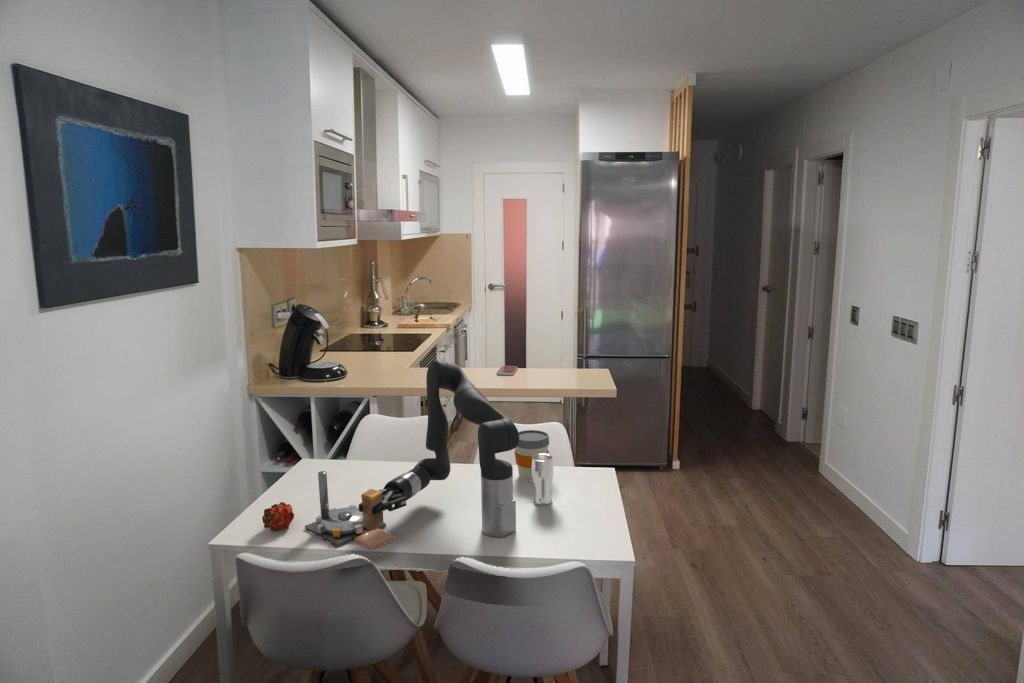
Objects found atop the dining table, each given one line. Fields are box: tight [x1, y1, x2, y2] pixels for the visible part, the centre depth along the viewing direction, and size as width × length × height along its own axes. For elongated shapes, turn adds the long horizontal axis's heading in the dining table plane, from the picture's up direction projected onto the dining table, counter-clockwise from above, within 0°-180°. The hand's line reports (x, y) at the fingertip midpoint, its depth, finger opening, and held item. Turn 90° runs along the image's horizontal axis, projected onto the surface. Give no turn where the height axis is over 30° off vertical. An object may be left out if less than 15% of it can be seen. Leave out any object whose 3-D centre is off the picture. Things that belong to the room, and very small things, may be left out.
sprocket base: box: [304, 521, 387, 548], centre depth 203 cm, size 17×17×1 cm
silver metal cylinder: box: [532, 453, 554, 506], centre depth 218 cm, size 7×7×15 cm
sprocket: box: [315, 470, 364, 537], centre depth 201 cm, size 17×17×16 cm
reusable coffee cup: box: [513, 429, 550, 482], centre depth 240 cm, size 13×12×15 cm
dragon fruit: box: [261, 501, 296, 532], centre depth 203 cm, size 8×8×12 cm
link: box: [360, 488, 385, 530], centre depth 193 cm, size 4×4×10 cm
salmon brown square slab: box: [354, 528, 395, 550], centre depth 195 cm, size 8×8×1 cm
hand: (366, 510), depth 191 cm, fingers closed on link, 4 cm apart
